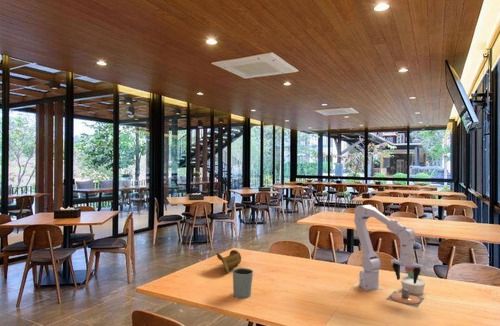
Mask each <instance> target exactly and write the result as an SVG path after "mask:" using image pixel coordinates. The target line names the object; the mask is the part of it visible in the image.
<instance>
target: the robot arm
mask: <svg viewBox="0 0 500 326" xmlns="http://www.w3.org/2000/svg"><path fill="white" fill-rule="evenodd" d="M353 213H354V220H353V221H354V222H353V223H354V225H355V229H356V232H357V236H358V239H359V243H360V246H361V250H362V252H363V253H362V256H361V267H362V269H363V270H360V271H359V274H358V275H359V278H358V279H359V283H358V285H359V286H360V287H361V288H363V290H366V291H367V290H369V291H370V290H372V291H373V290H383V288H382V287H381V286H379V285H380V283H379V281H380V279H379V278H380V277H379V276H380V274H379V273H380V268H381V267H382V261H381V259H380V258H379V256H378V253H377V252H375V251H374V248H373V243H372V241H371V238H370V234H369V231H368V228H367V225H366V222H367V221H368V220H369V219H370V218H375V219H376V220H378V221H380V222H381V223H382V224H384V225H386V229H388V230H389V231H390V232H392V233H393V234H395V235H396V236H397V237H398V239H399V241H400V242H399V245H400V246H399V247H400V250H399V251H400V255H399V257H400V260H399V259H394V258H393V259H390V264H391V265H392V266H391V267H392V269H393V270H394V273H395V276H396V280H397V281H399V280H400V279H401V266H402V267H412V268H415V269H413V273H414V284H416V282H417V280H418V278H419V276H418V275H420V274H421V273H420V271H421V272H422V271H423V270H424V265H423V264H420V263H418V262H417V263H416V262H414V263H413V259H414V239H415V238H416V232H415V231H414V230H413V229H412V228H409V227H407V226H406V225H403V224H401V223H400V222H399V220H397V219H390V218H389V217H387V215H385V214H384V213H382V211H379V210H378V208H376V207H375V206H373V205H372V204H365V205H364V204H363V205H357V206H356V207H355V208H354V210H353ZM419 273H420V274H419Z"/></svg>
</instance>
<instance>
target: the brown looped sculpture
mask: <svg viewBox="0 0 500 326" xmlns="http://www.w3.org/2000/svg"><path fill="white" fill-rule="evenodd" d="M216 257H217V259H218V260H219V261H221V263H222V265H223V267H224V270H225V273H226V274H229V270H230V269H231V268H233V267H235V266H237V265H240V263H241V262H242V256H241V253H240V252H239V251H238V250H237V249H233V250H230V252H229V255H227V256H225V257H223V256H222V255H221V253H219V252H216Z"/></svg>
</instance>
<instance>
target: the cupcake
mask: <svg viewBox="0 0 500 326" xmlns="http://www.w3.org/2000/svg"><path fill="white" fill-rule="evenodd" d="M413 263H415V258H413ZM404 267H405V268H404V271H405V272H406V273H407V276H408V278H409V279H414V273H413V269H415V268H412V267H407V266H404ZM421 273H422V270H421V271H420V273H419V275H420V274H421ZM419 275H418V277H419Z"/></svg>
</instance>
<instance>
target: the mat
mask: <svg viewBox="0 0 500 326" xmlns="http://www.w3.org/2000/svg"><path fill="white" fill-rule="evenodd" d="M392 293H401V292H400V291H395V290H394V291H393V292H392ZM415 296H416V295H415ZM416 297H418V298H419V299H420V303H418V304H405V303H400V302H397V301H395V300H393V299H392V298H391V294H390V295H388V296H387V298H386V300H387V301H390V302H395V303H398V304H402V305H405V306H410V307H414V308H418V307H419V306H420V305H421V303H422V302H423V301H424V300H425V297H420V296H418V295H417V296H416Z"/></svg>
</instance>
